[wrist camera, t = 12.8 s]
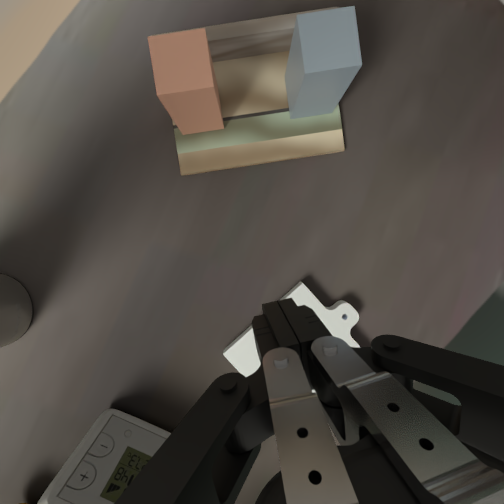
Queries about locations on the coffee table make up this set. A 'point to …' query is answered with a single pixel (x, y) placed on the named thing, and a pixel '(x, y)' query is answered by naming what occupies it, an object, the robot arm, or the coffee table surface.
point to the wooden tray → (255, 102)
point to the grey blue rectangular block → (321, 61)
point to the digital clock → (105, 460)
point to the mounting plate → (339, 326)
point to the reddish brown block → (186, 80)
